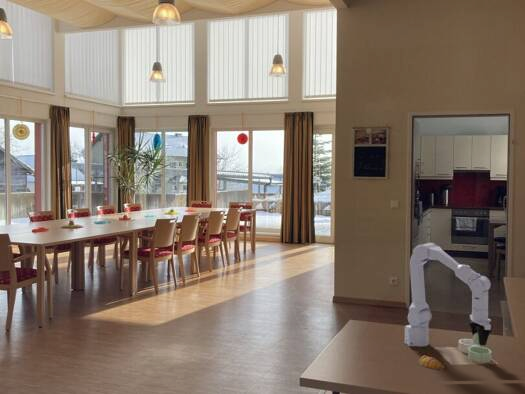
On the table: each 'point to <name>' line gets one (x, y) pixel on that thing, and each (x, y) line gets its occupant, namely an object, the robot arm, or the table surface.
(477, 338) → the ball
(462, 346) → the cup grey
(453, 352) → the board
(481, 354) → the cup green
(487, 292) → the robot arm
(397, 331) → the table surface
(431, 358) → the pastry
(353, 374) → the table surface
